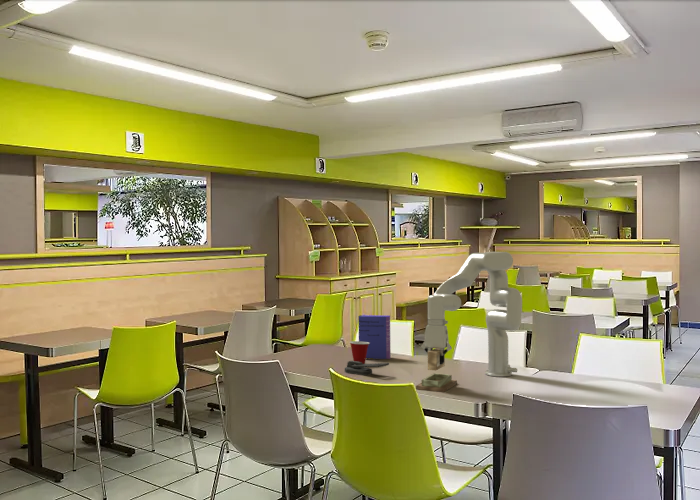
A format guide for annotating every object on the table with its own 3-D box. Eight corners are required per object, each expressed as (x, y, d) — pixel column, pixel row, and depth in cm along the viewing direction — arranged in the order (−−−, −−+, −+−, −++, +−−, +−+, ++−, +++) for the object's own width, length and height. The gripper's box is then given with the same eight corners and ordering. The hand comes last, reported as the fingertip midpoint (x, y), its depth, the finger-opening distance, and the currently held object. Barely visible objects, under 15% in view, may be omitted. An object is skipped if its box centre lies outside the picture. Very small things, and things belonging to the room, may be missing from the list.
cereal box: (390, 357, 356) (390, 315, 356) (389, 359, 352) (389, 316, 351) (360, 357, 359) (359, 315, 359) (358, 358, 354) (358, 316, 354)
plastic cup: (374, 363, 338) (373, 341, 337) (358, 366, 331) (358, 343, 331) (360, 361, 346) (360, 339, 346) (345, 363, 339) (345, 341, 339)
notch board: (457, 383, 288) (456, 374, 288) (444, 391, 272) (444, 382, 272) (430, 381, 294) (430, 372, 294) (416, 389, 278) (415, 380, 278)
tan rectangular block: (445, 366, 287) (445, 348, 287) (436, 370, 276) (436, 352, 276) (436, 365, 289) (436, 347, 289) (427, 369, 278) (427, 351, 278)
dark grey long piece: (378, 365, 299) (341, 359, 317) (378, 379, 300) (341, 372, 317) (391, 362, 306) (354, 356, 323) (391, 376, 306) (354, 369, 323)
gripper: (456, 322, 282) (457, 363, 282) (421, 320, 290) (421, 360, 290) (451, 324, 275) (451, 366, 275) (415, 322, 283) (415, 363, 283)
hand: (436, 363), depth 282 cm, fingers closed on tan rectangular block, 4 cm apart
